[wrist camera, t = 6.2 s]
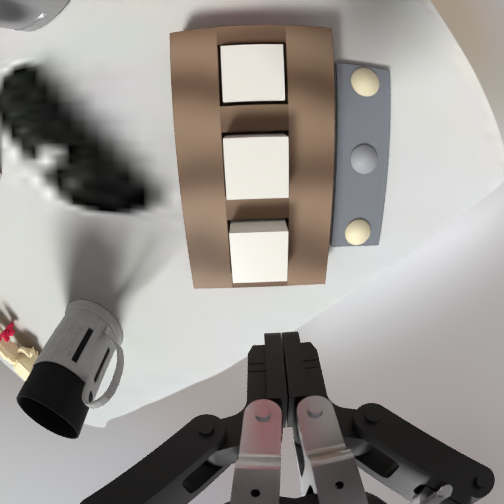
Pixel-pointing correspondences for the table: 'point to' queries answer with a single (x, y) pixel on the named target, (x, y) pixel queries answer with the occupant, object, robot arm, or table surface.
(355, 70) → the pattern card
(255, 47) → the button
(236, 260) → the button
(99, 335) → the grey mug
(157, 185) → the table surface
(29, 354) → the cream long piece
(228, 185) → the button mid
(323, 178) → the button board
